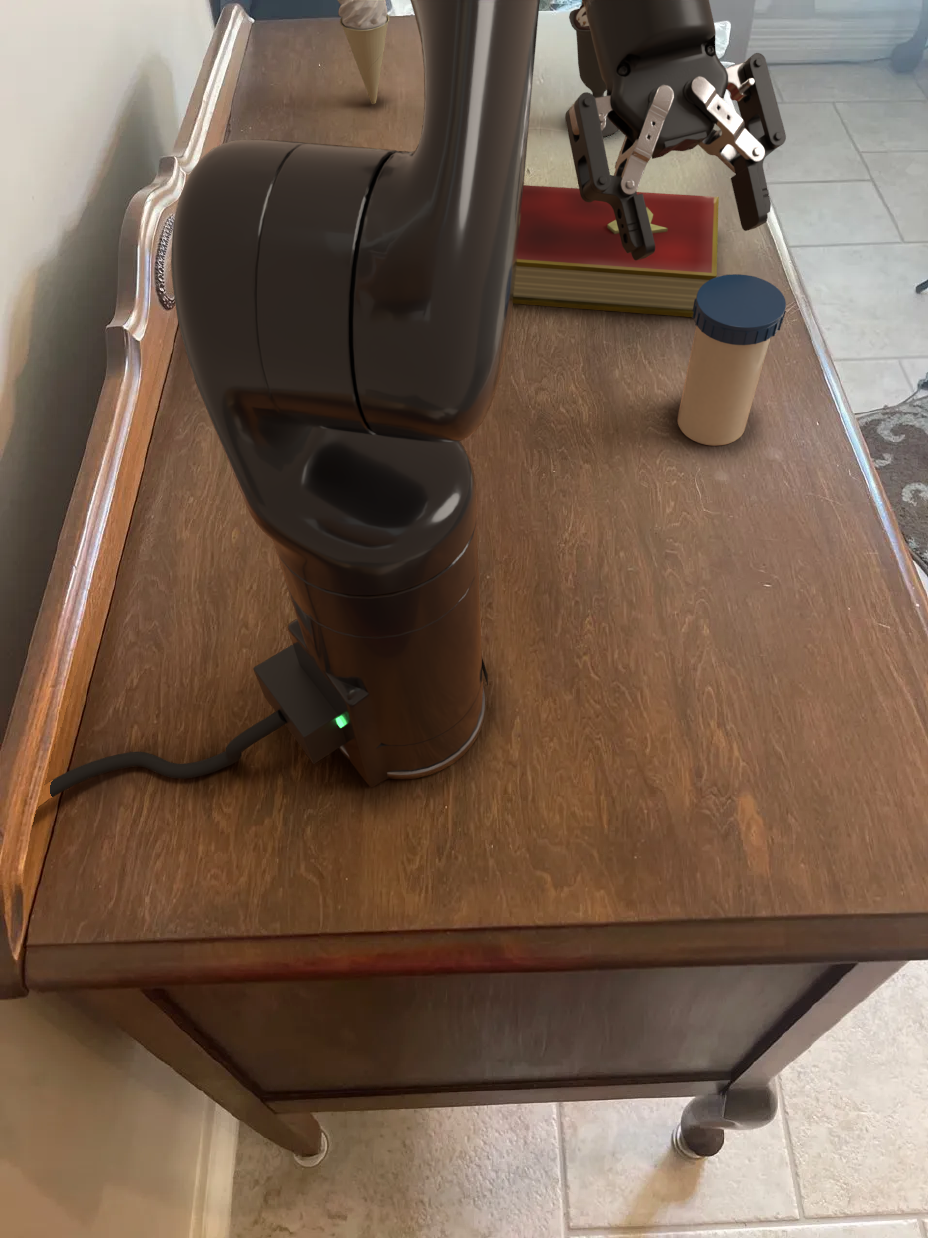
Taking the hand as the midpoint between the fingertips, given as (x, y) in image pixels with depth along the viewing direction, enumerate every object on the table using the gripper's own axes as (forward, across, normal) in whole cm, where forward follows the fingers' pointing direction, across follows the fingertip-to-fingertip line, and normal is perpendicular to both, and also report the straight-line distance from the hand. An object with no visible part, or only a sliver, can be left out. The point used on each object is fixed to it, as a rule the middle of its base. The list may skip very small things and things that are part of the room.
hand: (701, 241), depth 62 cm
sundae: (-18, +12, +35) cm, 41 cm away
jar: (+12, 0, +4) cm, 13 cm away
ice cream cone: (-34, -8, +40) cm, 53 cm away
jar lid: (+5, 0, -3) cm, 6 cm away
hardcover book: (-3, 0, +20) cm, 20 cm away
